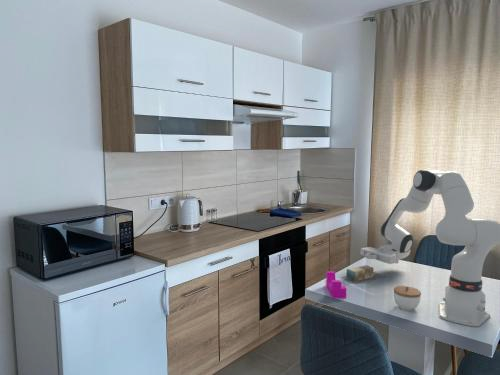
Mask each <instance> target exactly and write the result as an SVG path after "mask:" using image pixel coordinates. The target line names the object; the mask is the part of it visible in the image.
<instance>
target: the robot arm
mask: <svg viewBox="0 0 500 375" xmlns="http://www.w3.org/2000/svg"><path fill="white" fill-rule="evenodd" d="M412 178H413V179H412V185H411V188H410V189H409V192H408V194H407V195H406V197H404V198H400V200H398V202H397V204H396V205H395V206H394V207H393V209H392V211H391V213H390V214H389V215H388V217H387V218H386V220H385V221H384V222H383V223H382V225H381V226H380V234H381V236H382V237H383V238H385V239H386V240H388V241H390V242H391V244H385V245H381V246H379V247H378V248H375V247H371V246H369V247H368V246H367V247H362V248H361V247H360V252H359V253H360V255H361V256H364V257H365V258H366V259H368V260H377V261H378V262H382V263H385V264H388V265H390V264H391V265H392V264H399V260H403V259H405V258H407V257H408V256H409V255H410V253H411V249H412V247H413V244H414V237H413V235H412V234H411V233H410V232H408V231H407V230H406V229H404V228H403V227H401V226H400V225H399V223H398V221H399V219H400V218H401V216H402V215H403V214H404V212H407V213H414V214H419V213H423V212H424V211H427V209H428V207H429V205H430V204H431V201H432V200H433V199H432V198H433V197H434V195H440V196H441V199H442V201H443V202H442V203H443V205H444V210H445V214H444V216H443V218H442V219H441V220H440V221H439V222H437V224H436V226H435V235H436V237H437V239H438V241H439V242H440V243H442V244H446V245H451V246H464V248H463V249H462V250H461V251H460V252H458V253H456V254H454V255H453V257H452V259H451V268H450V270H451V271H450V275H449V278H448V285H446V286H445V290H444V291H445V292H444V293H445V294H444V296H443V297H442V300H443V301H439V302H438V312H439V314H438V315H439V318H441V319H444V320H446V321H448V322H452V323H456V324H458V325H459V324H460V325H463V326H468V327H480V326H481V325H483V323H485V321H486V320H488V318H489V317H491V314H490V312H488V311H486V297H487V296H486V293H484V291H483V285H484V284H483V280H482V274H483V267H484V262H485V260H486V258H487V256H488V254H489V252H490V251H491V250H492V249H493V248H494V247H495V246H497V245H499V244H500V223H499V221H496V220H492V219H485V218H468V217H467V215H468V214H469V213H471V212H472V211H473V210H474V207H475V203H474V199H473V197H472V194H471V192H470V189H469V186H468V184H467V183H466V181H465V179H464V178H463V177H462V175H461V174H460V173H459V172H457V171H454V170H453V171H452V170H451V171H446V172H445V171H440V170H432V169H431V170H430V169H420V170H418V171H417V172H416V173H415V174H414V176H413V177H412Z"/></svg>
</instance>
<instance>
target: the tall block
mask: <svg viewBox="0 0 500 375" xmlns="http://www.w3.org/2000/svg"><path fill="white" fill-rule="evenodd" d="M373 272H374V267H372V266H370V265H366V264H365V265H361V266H356V267H351V268H346V275H345V276H346V279H349V280H351V281H358V280H362V279H367V278H371V277H373Z"/></svg>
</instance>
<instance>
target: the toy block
mask: <svg viewBox="0 0 500 375" xmlns="http://www.w3.org/2000/svg"><path fill="white" fill-rule="evenodd" d="M325 281H326V282H325V287H326V289H327V290H328V292H329V294H330V296H331V298H333V299H334V298H336V299H347V287H346V285H343V284H342V281H341V280H340V279H336V272H335V271H333V270H331V271H330V270H329V271H328V270H327V271H326V279H325Z"/></svg>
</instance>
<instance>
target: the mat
mask: <svg viewBox="0 0 500 375" xmlns="http://www.w3.org/2000/svg"><path fill="white" fill-rule="evenodd" d="M346 276H347V275H345V276H340V278H341V279H343V280H346V281H348V282H350V283H353V284H356V285H357V284H361V283H366V282H370V281H375V280H379V279H382V278H383V279H384V278H387V276H385V275H383V274H380V273H377V272H376V271H373V277H371V278H367V279H362V280H358V281H351V280H349V279H346Z"/></svg>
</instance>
